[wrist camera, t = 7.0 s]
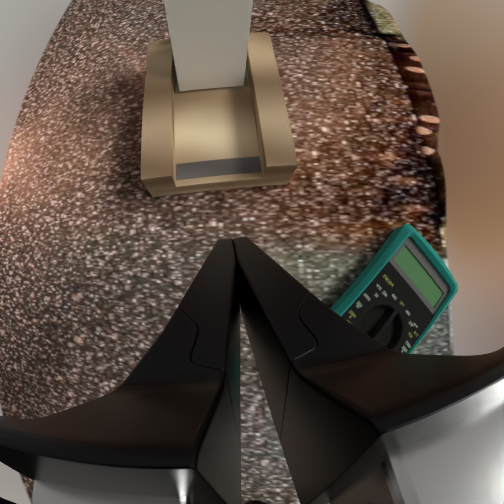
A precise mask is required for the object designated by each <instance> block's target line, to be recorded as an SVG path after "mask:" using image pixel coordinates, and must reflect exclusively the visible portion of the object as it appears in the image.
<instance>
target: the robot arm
mask: <svg viewBox="0 0 504 504" xmlns="http://www.w3.org/2000/svg"><path fill="white" fill-rule="evenodd" d="M240 308H241V313H242V317H243V320H244V324H245V327H246V330H247V334H248V337H249V341H250V344H251V348H252V351H253V354H254V358H255V361H256V365H257V368H258V371H259V375H260V378H261V381H262V385H263V388H264V391H265V394H266V398H267V401H268V404H269V408H270V411H271V414H272V417H273V420H274V424H275V427H276V430H277V433H278V436H279V439H280V443H281V446H282V449H283V452H284V455H285V458H286V461H287V465H288V468H289V471H290V474H291V477H292V480H293V483H294V486H295V489H296V492H297V495H298V498H299V501H300V504H328V503H330V504H504V347H503V348H501V349H499V350H497V351H495V352H492V353H488V354H483V355H473V356H452V355H423V354H406V353H400V352H396V351H394V350H391V349H389V348H387V347H385V346H384V345H382V344H380V343H379V342H377V341H376V340H374V339H373V338H371V337H370V336H369V335H367V334H366V333H364V332H363V331H361V330H360V329H358V328H357V327H355V326H354V325H352V324H351V323H349V322H348V321H346V320H345V319H344V318H342V317H341V316H340V315H338V314H337V313H335V312H334V311H333V310H331V309H330V308H329V307H328V306H326V305H325V304H324V303H323V302H322V301H320V300H319V299H318V298H317V297H316V296H314V295H313V294H312V293H310V291H309V290H307V289H306V288H305V287H304V286H303V285H302V284H301V283H299V282H298V281H297V280H296V279H295V278H294V277H292V276H291V275H290V274H289V273H288V272H287V271H286V270H284V269H283V268H282V267H281V266H280V265H279V264H277V263H276V262H275V261H274V260H273V259H272V258H271V257H269V256H268V255H267V254H266V253H265V252H264V251H262V250H261V249H260V248H259V247H258V246H257V245H255V244H254V243H253V242H252V241H251V240H250V239H249V238H247V237H238V238H234V239H233V240H232V239H231V238H228V239H219V240H218V241H217V243H216V244H215V246H214V247H213V249H212V251H211V252H210V254H209V256H208V257H207V259H206V260H205V262H204V264H203V265H202V267H201V269H200V270H199V272H198V274H197V275H196V277H195V279H194V280H193V282H192V284H191V285H190V287H189V289H188V290H187V292H186V294H185V295H184V297H183V299H182V300H181V302H180V304H179V306H178V308H177V309H176V310H175V312H174V314H173V316H172V317H171V319H170V320H169V322H168V324H167V325H166V327H165V328H164V330H163V331H162V333H161V334H160V335H159V337H158V338H157V340H156V341H155V342H154V344H153V345H152V346H151V348H150V349H149V350H148V351H147V353H146V354H145V355H144V357H143V358H142V359H141V360H140V362H139V363H138V364H137V366H136V367H135V368H134V370H133V371H132V372H131V373H130V375H129V376H128V377H127V378H126V380H125V381H124V382H123V383H122V384H121V385H120V386H119V387H118V388H116V389H115V390H114V391H112V392H111V393H109V394H107V395H104V396H102V397H99V398H97V399H94V400H91V401H89V402H86V403H83V404H81V405H78V406H75V407H73V408H70V409H67V410H64V411H62V412H59V413H56V414H53V415H50V416H46V417H42V418H37V419H18V418H13V417H8V416H0V461H1V462H2V463H4V464H5V465H7V466H9V467H11V468H12V469H14V470H16V471H17V472H19V473H21V474H23V475H25V476H26V477H28V478H30V479H32V480H34V486H33V498H32V504H241V447H240V446H241V424H240ZM0 504H16V503H14V502H11V501H8V500H6V499H3V498H1V497H0ZM251 504H266V503H263V502H261V501H254V502H253V503H251Z"/></svg>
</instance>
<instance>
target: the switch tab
mask: <svg viewBox="0 0 504 504" xmlns="http://www.w3.org/2000/svg"><path fill="white" fill-rule="evenodd" d="M164 3H165V9H166V15H167V22H168V28H169V34H170V40H171V45H172V51H173V57H174V62H175V68H176V73H177V79H178V84H179V90H180V91H189V90H198V89H209V88H221V87H236V86H244V78H245V68H246V59H247V49H248V40H249V31H250V22H251V14H252V5H253V0H164Z"/></svg>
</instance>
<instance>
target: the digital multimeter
mask: <svg viewBox="0 0 504 504" xmlns="http://www.w3.org/2000/svg"><path fill="white" fill-rule="evenodd" d="M383 267H384V268H383ZM378 273H379V274H378ZM373 279H374V280H373ZM368 285H369V286H368ZM367 286H368V287H367ZM457 290H458V285H457V283H456V281H455V279H454V278H453V276H452V274H451V273H450V271H449V270H448V268H447V267H446V265H445V264H444V262H443V261H442V259H441V258H440V257H439V255H438V254H437V253H436V251H435V250H434V249H433V248H432V247H431V245H430V244H429V243H428V242H427V241H426V240H425V239H424V238H423V237H422V236H421V235H420V234H419V233H418V232H417V231H416V230H415V229H414V228H413V227H412V226H411V225H410V224H405V225H403V226H400V227H398V228H396V229H395V230H393V232H392V233H391V234H390V236H389V237H388V239H387V240H386V241H385V243H384V244H383V245H382V247H381V248H380V249H379V251H378V252H377V253H376V255H375V256H374V257H373V259H372V260H371V261H370V262H369V264H368V265H367V266H366V268H365V269H364V270H363V271H362V272H361V274H360V275H359V276H358V277H357V278H356V279H355V281H354V282H353V283H352V284H351V285H350V286H349V288H348V289H347V290H346V291H345V292H344V293H343V294H342V296H341V297H340V298H339V299H338V300H337V301H336V302H335V303H334V304H333V305H332V306H331V307H330V309H331V310H333V311H334V312H335V313H337V314H338V315H340V316H341V317H342V318H344V319H345V320H346V321H348V322H349V323H351V324H352V325H354V326H355V327H357V328H358V329H360V330H361V331H363V332H364V333H366V334H367V335H369V336H370V337H371V338H373V339H374V340H376V341H377V342H379V343H380V344H382V345H384V346H385V347H387V348H389V349H391V350H394V351H396V352H400V353H406V354H411V353H412V352H413V350H414V349H415V348H416V346H417V345H418V344H419V343H420V341H421V340H422V339H423V337H424V336H425V335H426V333H427V332H428V331H429V329H430V328H431V327H432V325H433V324H434V323H435V322H436V320H437V319H438V318H439V316H440V315H441V314H442V312H443V311H444V310H445V308H446V307H447V305H448V304H449V303H450V301H451V300H452V299H453V297H454V296H455V294H456V293H457ZM362 292H363V293H362ZM355 300H356V301H355ZM386 302H387V303H386ZM348 308H349V309H348ZM347 309H348V310H347ZM364 311H365V312H364ZM400 312H401V313H400ZM402 316H403V317H402ZM400 342H401V343H400Z"/></svg>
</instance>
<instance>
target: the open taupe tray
mask: <svg viewBox="0 0 504 504" xmlns="http://www.w3.org/2000/svg"><path fill="white" fill-rule="evenodd" d="M296 167H297V159H296V154H295V149H294V144H293V138H292V133H291V128H290V123H289V118H288V114H287V109H286V104H285V99H284V95H283V90H282V86H281V81H280V77H279V73H278V68H277V64H276V60H275V56H274V52H273V47H272V43H271V39H270V35H269V33H249V40H248V49H247V59H246V68H245V78H244V86H236V87H221V88H209V89H198V90H189V91H180V90H179V84H178V79H177V73H176V68H175V62H174V57H173V51H172V45H171V40H170V39H166V40H159V41H153V42H149V47H148V55H147V65H146V75H145V86H144V99H143V116H142V138H141V181H142V182H143V184H144V185H145V187H146V188H147V190H148V191H149V193H150V194H151V196H152V197H159V196H167V195H175V194H183V193H192V192H201V191H211V190H221V189H232V188H243V187H256V186H269V185H283V184H288V182H289V180H290V178H291V177H292V175H293V173H294V171H295V169H296Z"/></svg>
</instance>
